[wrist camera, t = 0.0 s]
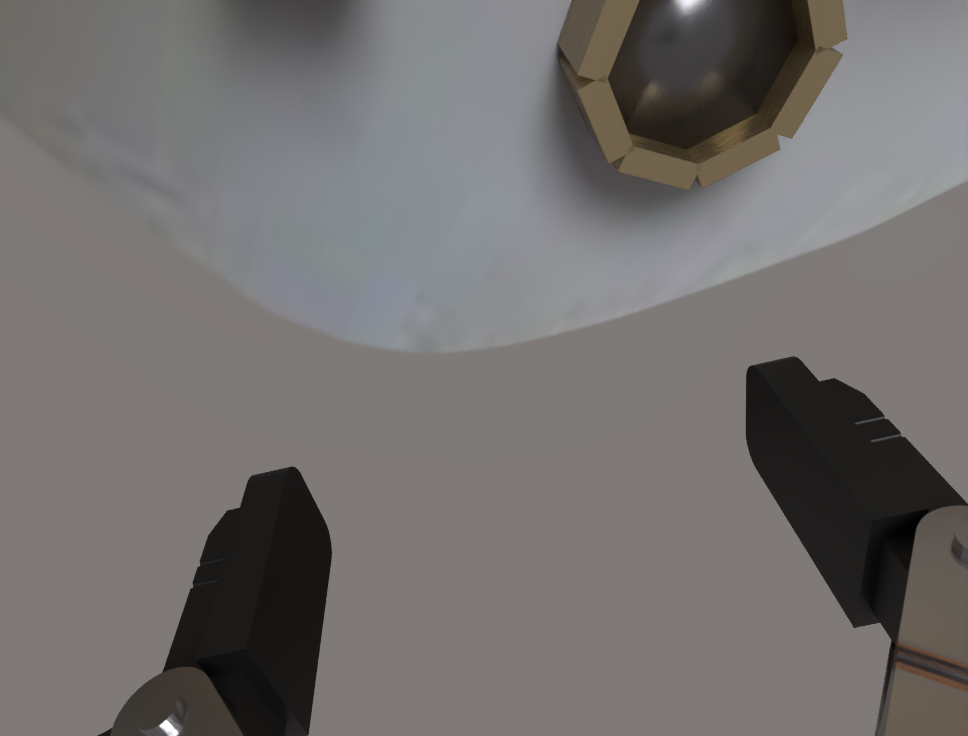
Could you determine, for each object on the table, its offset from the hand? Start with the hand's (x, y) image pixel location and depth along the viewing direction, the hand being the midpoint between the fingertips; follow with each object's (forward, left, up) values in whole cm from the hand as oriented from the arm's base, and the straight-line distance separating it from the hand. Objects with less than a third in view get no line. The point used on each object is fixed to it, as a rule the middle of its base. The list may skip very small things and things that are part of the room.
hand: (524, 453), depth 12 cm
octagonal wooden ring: (-3, +10, -22) cm, 25 cm away
